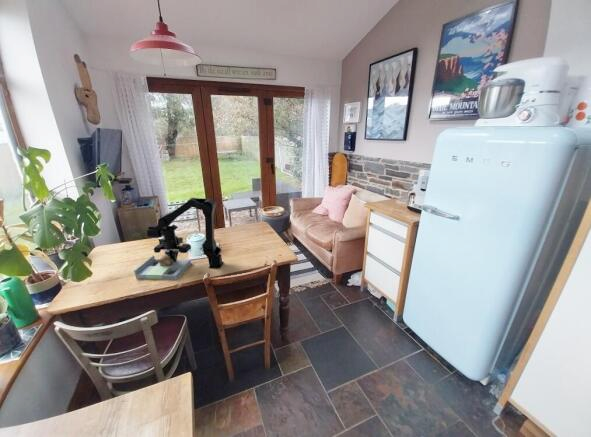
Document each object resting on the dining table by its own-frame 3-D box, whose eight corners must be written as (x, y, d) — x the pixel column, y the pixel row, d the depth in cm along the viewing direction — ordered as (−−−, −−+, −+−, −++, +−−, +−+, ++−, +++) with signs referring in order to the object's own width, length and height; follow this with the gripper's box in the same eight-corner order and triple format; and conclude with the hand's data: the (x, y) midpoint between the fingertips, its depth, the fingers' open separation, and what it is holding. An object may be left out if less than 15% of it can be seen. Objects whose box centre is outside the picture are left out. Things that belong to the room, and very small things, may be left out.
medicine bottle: (160, 248, 162) (156, 232, 158) (162, 243, 168) (159, 228, 164) (172, 246, 164) (168, 230, 159) (173, 242, 170) (170, 226, 166)
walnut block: (175, 260, 142) (174, 254, 140) (170, 265, 136) (168, 259, 135) (166, 260, 142) (164, 254, 141) (160, 265, 137) (158, 259, 135)
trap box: (191, 263, 143) (189, 256, 141) (176, 279, 128) (175, 271, 126) (154, 262, 145) (152, 255, 143) (136, 278, 130) (133, 270, 128)
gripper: (193, 231, 140) (197, 254, 145) (162, 230, 141) (167, 254, 147) (183, 239, 129) (188, 264, 135) (150, 239, 131) (156, 264, 136)
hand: (175, 261), depth 139 cm, fingers closed
